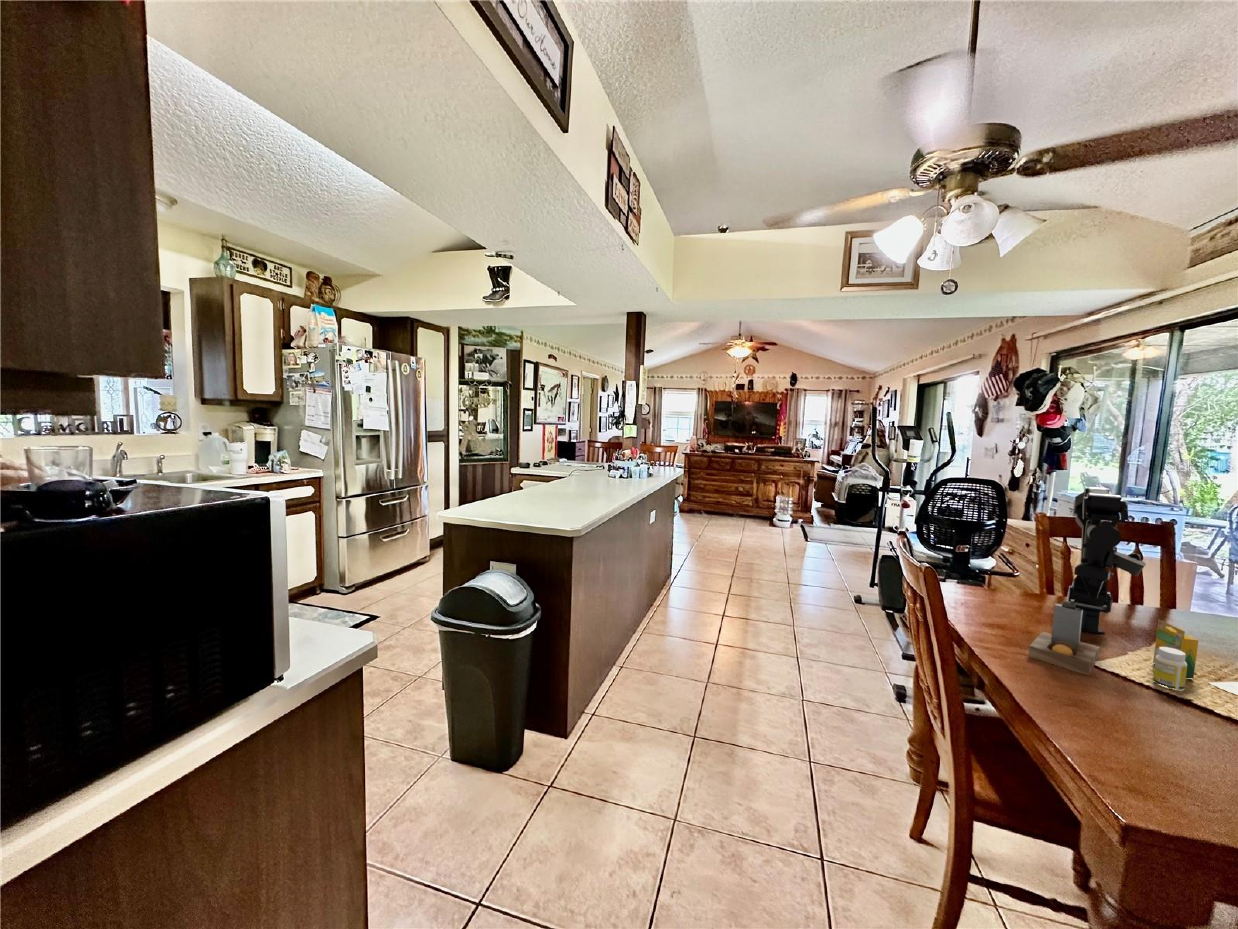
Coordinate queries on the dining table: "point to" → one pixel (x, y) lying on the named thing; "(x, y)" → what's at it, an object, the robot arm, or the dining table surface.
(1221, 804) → the dining table surface
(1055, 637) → the grey piece
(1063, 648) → the ball
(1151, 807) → the dining table surface
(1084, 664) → the board
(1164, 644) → the crayon box
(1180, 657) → the supplement bottle
